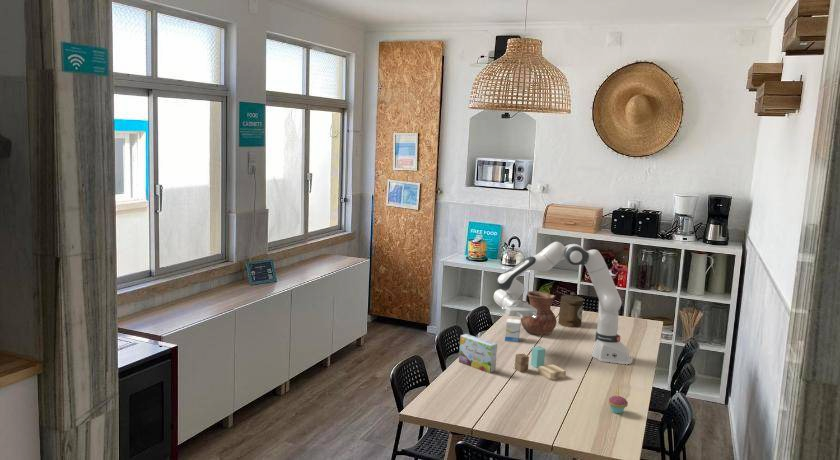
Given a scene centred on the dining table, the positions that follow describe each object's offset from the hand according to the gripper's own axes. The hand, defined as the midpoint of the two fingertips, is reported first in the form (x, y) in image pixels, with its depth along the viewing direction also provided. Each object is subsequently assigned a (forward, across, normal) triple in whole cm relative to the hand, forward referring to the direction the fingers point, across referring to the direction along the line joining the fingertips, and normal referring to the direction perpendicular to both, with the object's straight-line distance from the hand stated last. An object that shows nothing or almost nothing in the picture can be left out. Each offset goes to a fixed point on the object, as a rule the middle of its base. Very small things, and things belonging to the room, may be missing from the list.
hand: (529, 317), depth 364 cm
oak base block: (+28, -1, +20) cm, 35 cm away
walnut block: (+16, -11, +23) cm, 30 cm away
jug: (-32, +43, +26) cm, 60 cm away
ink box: (-27, +19, +28) cm, 43 cm away
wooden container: (-38, +77, +24) cm, 89 cm away
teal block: (+15, +1, +22) cm, 26 cm away
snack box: (+3, -30, +28) cm, 41 cm away
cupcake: (+75, -6, +12) cm, 76 cm away
